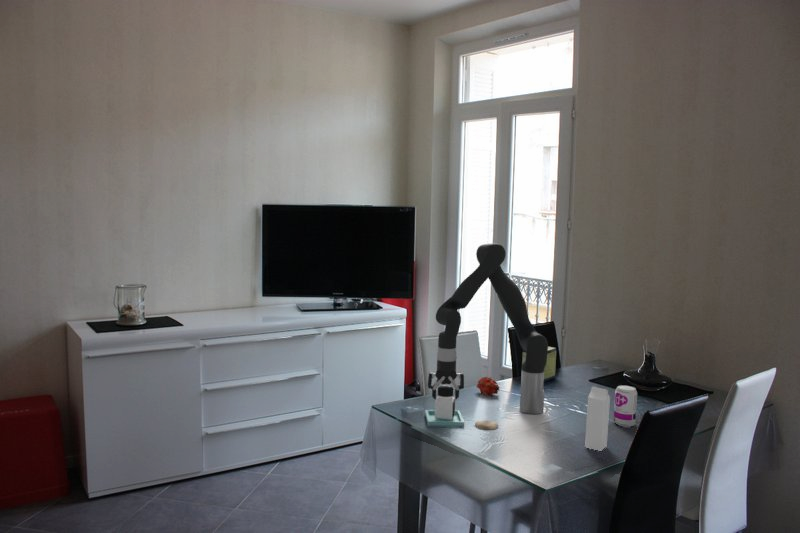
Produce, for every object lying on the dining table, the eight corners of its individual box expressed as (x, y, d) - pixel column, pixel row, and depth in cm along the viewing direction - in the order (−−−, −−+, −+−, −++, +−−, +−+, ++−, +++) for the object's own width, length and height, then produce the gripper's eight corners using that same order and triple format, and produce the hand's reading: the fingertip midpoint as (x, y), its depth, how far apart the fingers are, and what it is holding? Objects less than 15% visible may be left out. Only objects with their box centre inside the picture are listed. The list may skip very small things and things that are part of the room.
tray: (459, 415, 269) (459, 410, 269) (464, 427, 255) (464, 422, 255) (425, 414, 268) (425, 409, 268) (428, 426, 254) (428, 421, 254)
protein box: (555, 378, 329) (557, 347, 328) (539, 384, 318) (541, 352, 316) (536, 373, 336) (538, 343, 335) (520, 379, 325) (522, 348, 323)
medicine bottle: (452, 419, 257) (453, 389, 256) (434, 418, 259) (435, 388, 257) (454, 414, 264) (455, 384, 263) (437, 412, 266) (437, 383, 264)
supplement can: (624, 429, 258) (627, 391, 257) (608, 422, 266) (611, 386, 264) (639, 426, 262) (642, 389, 261) (623, 419, 270) (626, 384, 268)
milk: (590, 443, 242) (594, 384, 240) (607, 447, 239) (611, 388, 237) (584, 448, 238) (588, 388, 235) (601, 452, 234) (605, 391, 232)
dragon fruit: (478, 393, 304) (497, 404, 296) (469, 386, 299) (488, 396, 290) (487, 378, 306) (507, 388, 297) (479, 370, 301) (498, 380, 292)
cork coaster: (495, 421, 262) (495, 420, 262) (500, 430, 253) (500, 428, 253) (473, 421, 262) (473, 420, 262) (476, 429, 253) (476, 428, 253)
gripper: (463, 356, 263) (461, 396, 265) (427, 355, 262) (426, 395, 264) (466, 361, 256) (464, 402, 257) (429, 360, 255) (428, 401, 257)
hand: (445, 398), depth 261 cm, fingers closed on medicine bottle, 8 cm apart
